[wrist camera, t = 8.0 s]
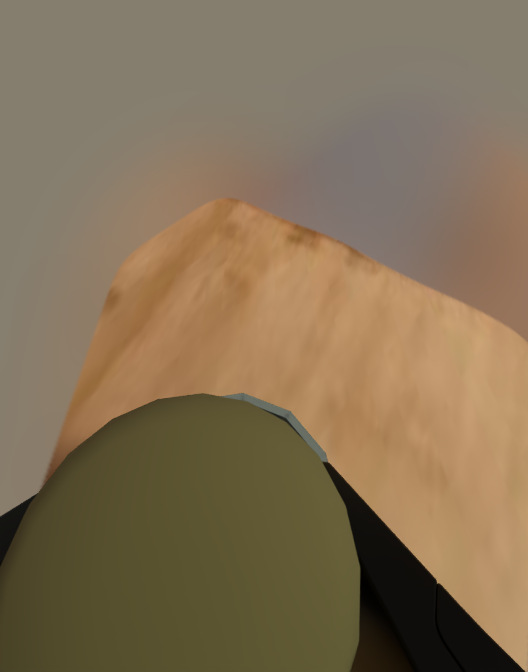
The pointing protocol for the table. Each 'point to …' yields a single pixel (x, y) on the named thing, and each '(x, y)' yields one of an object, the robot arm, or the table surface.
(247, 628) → the cork
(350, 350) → the table surface
